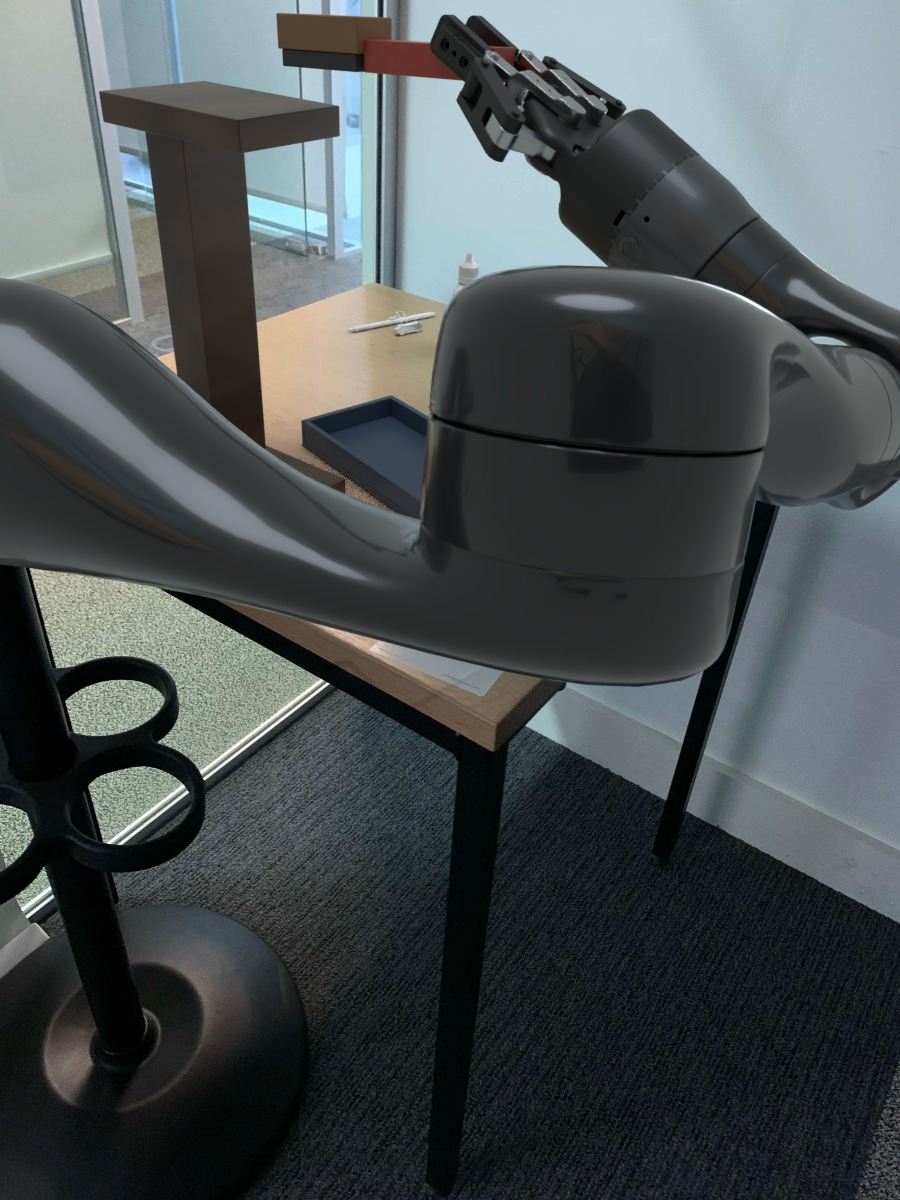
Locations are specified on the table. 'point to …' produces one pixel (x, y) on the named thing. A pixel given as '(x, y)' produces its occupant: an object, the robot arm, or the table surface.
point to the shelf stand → (215, 228)
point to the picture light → (401, 327)
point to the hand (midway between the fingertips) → (453, 30)
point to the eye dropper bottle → (467, 272)
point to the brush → (359, 47)
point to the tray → (375, 449)
